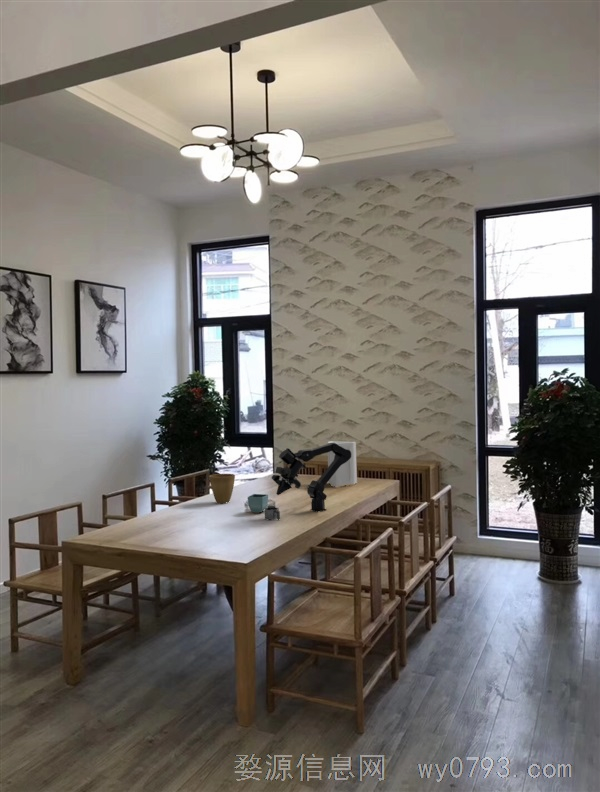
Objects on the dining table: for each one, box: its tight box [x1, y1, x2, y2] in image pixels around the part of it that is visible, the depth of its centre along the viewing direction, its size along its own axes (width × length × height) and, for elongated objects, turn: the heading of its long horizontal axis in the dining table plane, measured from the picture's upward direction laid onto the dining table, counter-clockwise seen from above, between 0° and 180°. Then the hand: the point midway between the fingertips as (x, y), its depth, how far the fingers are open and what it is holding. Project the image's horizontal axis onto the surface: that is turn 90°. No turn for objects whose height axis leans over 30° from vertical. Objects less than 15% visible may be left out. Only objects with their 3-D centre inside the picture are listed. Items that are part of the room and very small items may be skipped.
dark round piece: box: [267, 504, 277, 510], centre depth 323 cm, size 5×5×6 cm
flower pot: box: [247, 493, 269, 513], centre depth 339 cm, size 9×9×9 cm
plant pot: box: [209, 473, 236, 504], centre depth 370 cm, size 15×15×16 cm
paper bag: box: [327, 440, 358, 486], centre depth 416 cm, size 19×15×28 cm
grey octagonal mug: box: [264, 507, 281, 521], centre depth 322 cm, size 7×10×5 cm
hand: (277, 494), depth 325 cm, fingers closed
